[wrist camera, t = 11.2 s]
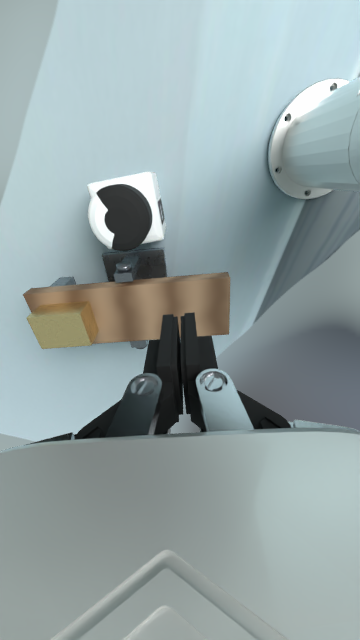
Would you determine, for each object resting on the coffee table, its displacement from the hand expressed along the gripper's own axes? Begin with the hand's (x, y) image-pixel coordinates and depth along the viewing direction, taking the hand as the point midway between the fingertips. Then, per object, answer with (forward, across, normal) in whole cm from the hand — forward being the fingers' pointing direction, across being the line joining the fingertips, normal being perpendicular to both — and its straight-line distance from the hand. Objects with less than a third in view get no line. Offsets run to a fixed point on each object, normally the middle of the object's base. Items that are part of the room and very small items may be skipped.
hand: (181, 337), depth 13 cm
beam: (+21, +8, +9) cm, 24 cm away
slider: (+19, +17, +9) cm, 27 cm away
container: (+29, +6, -4) cm, 30 cm away
